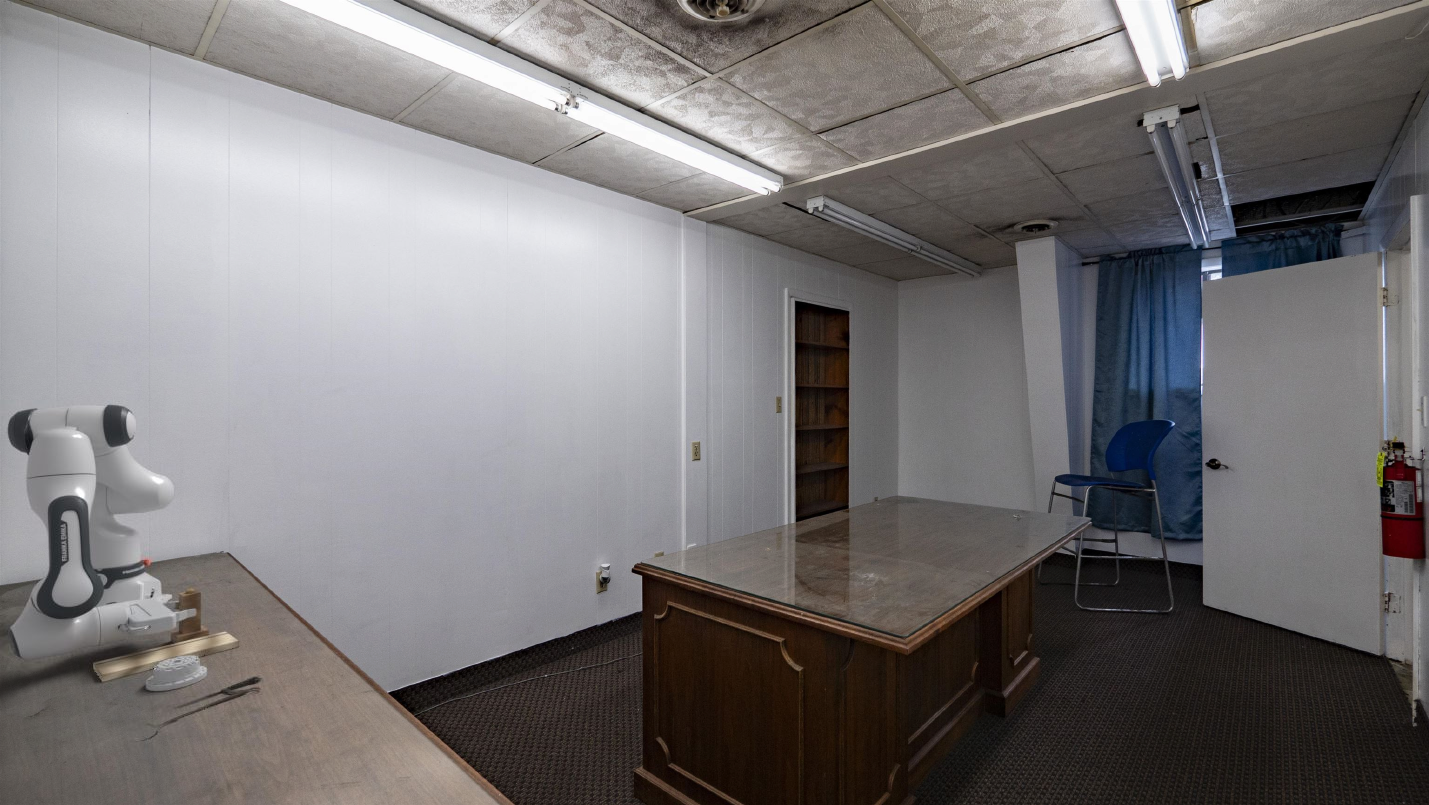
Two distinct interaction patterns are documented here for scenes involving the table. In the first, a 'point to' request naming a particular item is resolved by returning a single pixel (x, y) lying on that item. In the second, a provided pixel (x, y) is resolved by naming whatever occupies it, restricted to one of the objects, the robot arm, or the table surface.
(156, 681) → the mechanical component
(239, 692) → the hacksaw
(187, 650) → the plank
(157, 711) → the table surface
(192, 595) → the wooden peg post
